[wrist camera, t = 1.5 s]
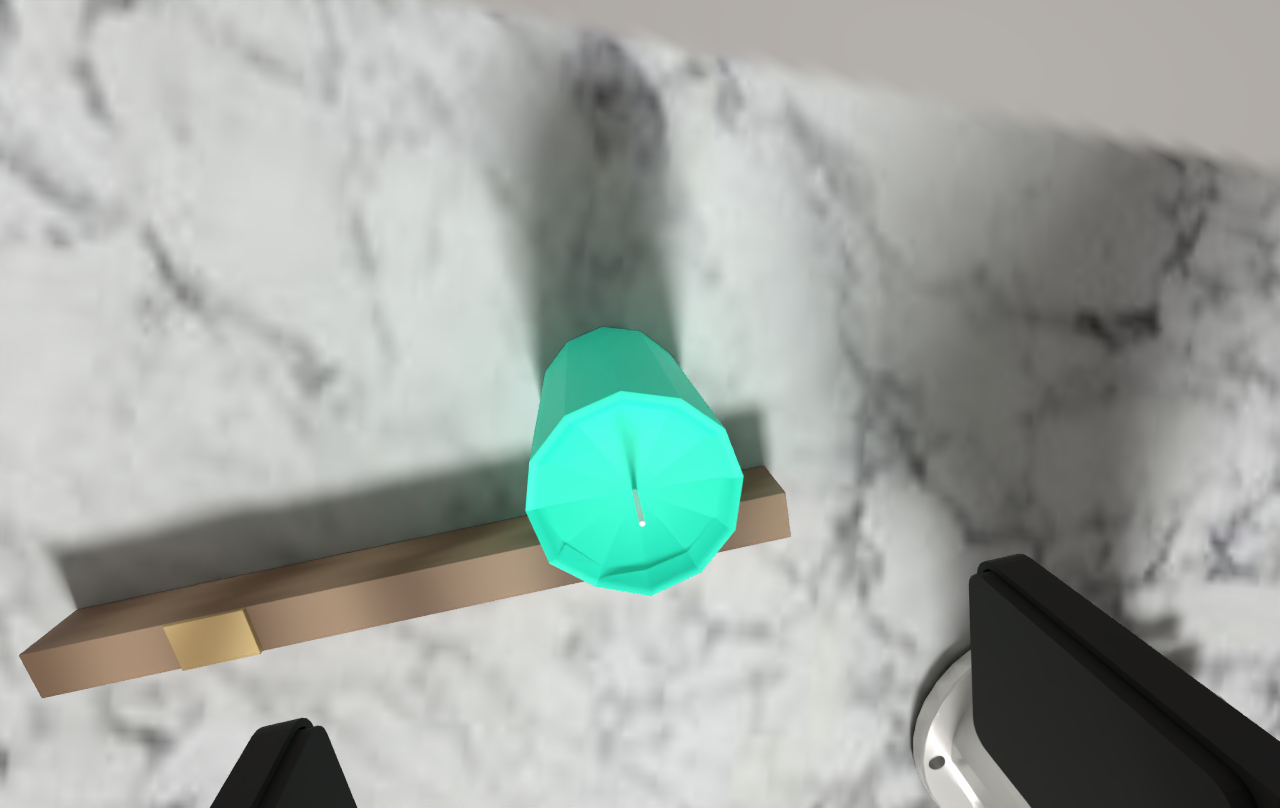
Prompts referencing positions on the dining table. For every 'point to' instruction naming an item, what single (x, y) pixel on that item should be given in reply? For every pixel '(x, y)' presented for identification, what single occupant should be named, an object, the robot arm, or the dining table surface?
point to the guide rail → (328, 598)
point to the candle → (628, 467)
